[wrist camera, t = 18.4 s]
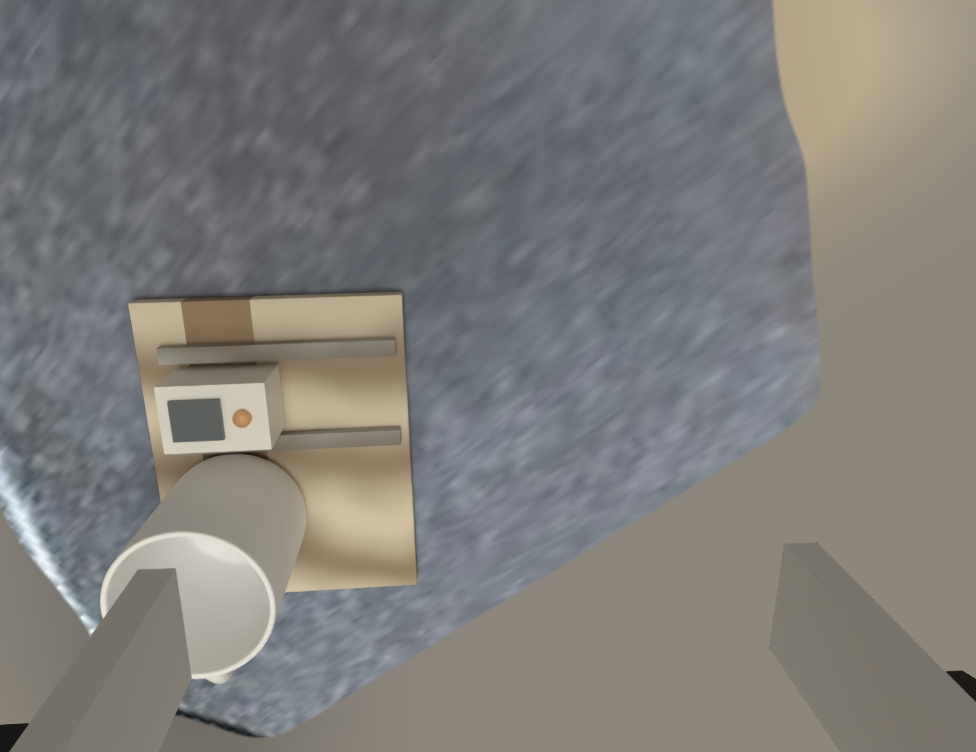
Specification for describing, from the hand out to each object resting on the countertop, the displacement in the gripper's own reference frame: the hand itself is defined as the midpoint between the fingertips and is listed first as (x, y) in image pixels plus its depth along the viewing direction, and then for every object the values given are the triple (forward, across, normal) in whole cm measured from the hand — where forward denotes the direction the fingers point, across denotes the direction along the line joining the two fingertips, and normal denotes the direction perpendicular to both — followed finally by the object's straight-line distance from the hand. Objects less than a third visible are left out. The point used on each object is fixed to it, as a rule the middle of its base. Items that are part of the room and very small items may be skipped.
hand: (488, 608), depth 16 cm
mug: (+30, -14, -14) cm, 36 cm away
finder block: (+30, -14, -5) cm, 33 cm away
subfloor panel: (+31, -11, -9) cm, 34 cm away
